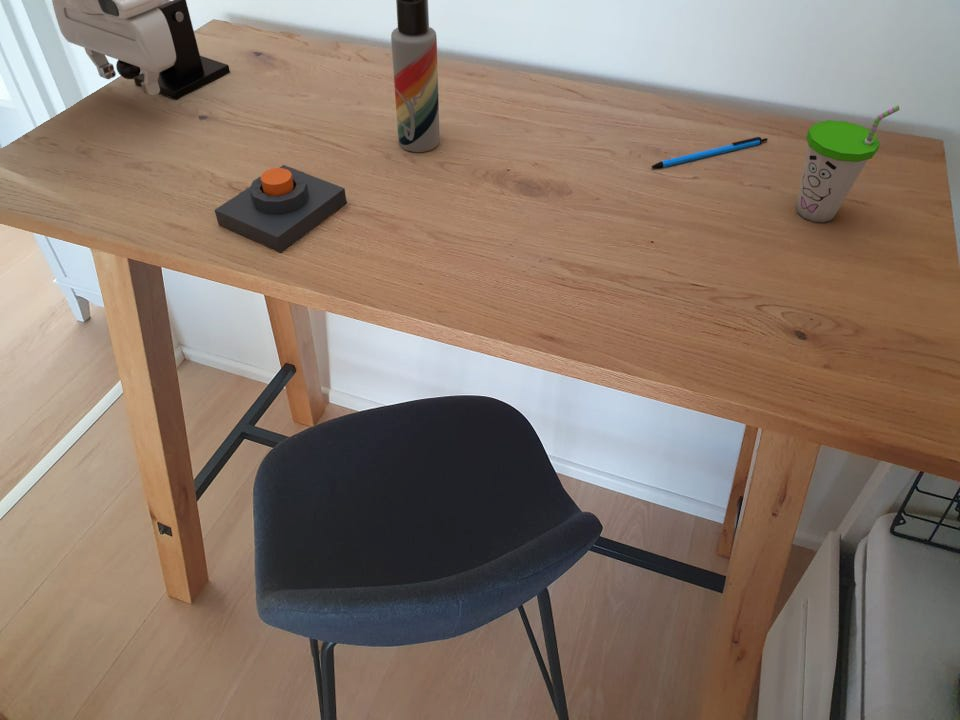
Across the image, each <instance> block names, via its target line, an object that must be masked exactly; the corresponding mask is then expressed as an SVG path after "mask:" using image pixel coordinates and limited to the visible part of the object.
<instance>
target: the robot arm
mask: <svg viewBox="0 0 960 720" xmlns="http://www.w3.org/2000/svg"><path fill="white" fill-rule="evenodd" d="M51 2H52V6H53V10H54V15H55V18H56V22H57V25H58V28H59V30H60V33H61V35H62V36H63V37H64V39H65V40H66V41H67V42H68V43H70V44H73V45H75V46H79V47H81V48H83V49H84V51H85V53H86V55H87V57H88V58H89V59H90V61H91V62H92V63H93V65H94V66H95V67H96V70H97V72H98V75H99V77H100V78H103V79H105V80H111V79H113V78H115V77H116V76H117V75H116V74H117V73H116V70H115V67H114V64H113V63H110V61H109V60H108V58H107V57H110V58H111V59H112V58H113V59H116V60H117V61H118V60H121V61H123V62H126V63H129V64H132V65H135V66H137V67H140V70H141V72H140V74H141V73H143V74H145V76H144V81H143V82H141V86H142V87H141V86H140V87H141V88H142V92H143V93H144V94H146V95H149V96H152V97H154V96H156V95H159V94H160V93H159V92H160V88H159V84H158V77H159V73H160V72H162V71H164V70H166V69H168V68H170V67H172V66H173V65H174V63H175V61H176V53H175V48H174V44H173V40H172V36H171V33H170V29H169V26H168V23H167V20H166V18H165V16H164V14H163V13H162V12H161V10H160V9H159V8H157V6H159V5H161V4H162V0H51Z"/></svg>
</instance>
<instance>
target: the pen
mask: <svg viewBox="0 0 960 720" xmlns="http://www.w3.org/2000/svg"><path fill="white" fill-rule="evenodd" d="M768 140H769V139H768V137H765V138H762V137H760V136H755V137H752V138H747V139H743V140H739V141H735V142H731V144H728V145H723V146H719V147H716V148H715V147H714V148H711V149H707V150H703V151H699V152H694V153H690V154H686V155H681V156H678V157H673V158H668V159H664V160H661V161H659V162H656V163H654V164H652V165H651V166H650V168H651V169H663V168H664V169H665V168H668V167H672V166H677V165H680V164H684V163H688V162H692V161H696V160H697V161H698V160H701V159H705V158H709V157H713V156H718V155H721V154H725V153H730V152H734V151H738V150H742V149H747V148H751V147H754V146H760V145H761V144H762V143H764V142H767V141H768Z"/></svg>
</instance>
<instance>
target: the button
mask: <svg viewBox="0 0 960 720" xmlns="http://www.w3.org/2000/svg"><path fill="white" fill-rule="evenodd" d="M260 176H261V183H262V187H263V191H264V193H265V194H267V195H269V196H280V195H284V194H288V193H290V192H291V191H293V189H294V184H293V179H292V174H291V172H290V171H289V170H287V169H284V168H280V167H273V168H270V169H266V170H265V171H263V172H262V173H261V175H260Z"/></svg>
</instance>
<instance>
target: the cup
mask: <svg viewBox="0 0 960 720" xmlns="http://www.w3.org/2000/svg"><path fill="white" fill-rule="evenodd" d="M898 111H900V107H899V105H896V106H893V107H892V108H890V109H888V110H886V111H884V112H882V113H880V114H878V115H877V116H876V117H875V119H874V120H873V123H872V125H871V127H870V129H867V128H866V127H864V126H862V125H859V124H855V123H853V122H849V121H843V120H824V121H819V122H815V123H813V125H812V126H810V128H809V129H808V131H807V134H806V137H805V138H806V141H807V149H806V155H805V159H804V165H803V170H802V176H801V181H800V187H799V191H798V197H797V202H796V208H795V209H796V213H797V215H799V216H800V217H801V218H803V219H804V220H807V221H809V222H812V223H820V224H825V223H828V222H832V220H833V219H834V218H835V216H836V215H837V213H838V211H839V210H840V208H841V206H842V204H843V203H844V202H845V200H846V198H847V196H848V195H849V193H850V191H851V190H852V188H853V187H854V184H855V183H856V181H857V180H858V178H859V175H860V174H861V173H862V171H863V170H864V168H865V166H866V164H867V162H868V161H869V160H871V159H873V157H874V156H875V155H876V154H877V152H878V150H879V148H880V146H881V142H880V140H879V138H878V136H877V135H876V131H877V130H878V127H879V125H880V122H881V121H882V120H883V119H884V118H886V117H889V116H890V115H893V114H895V113H897V112H898Z"/></svg>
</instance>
